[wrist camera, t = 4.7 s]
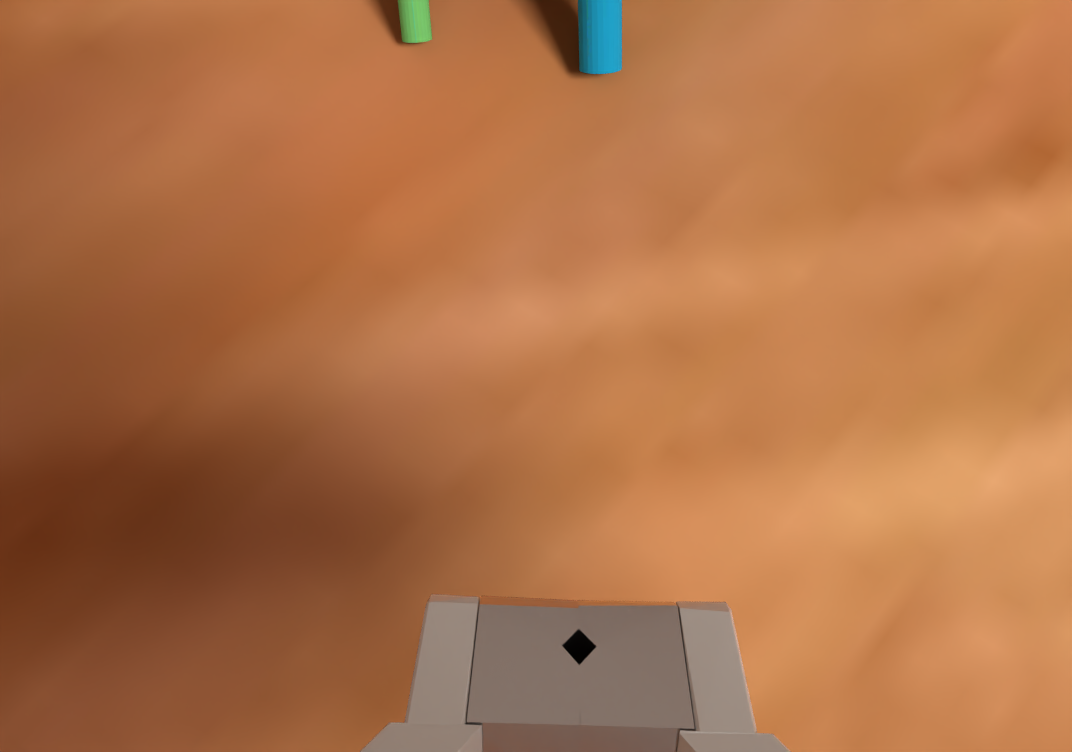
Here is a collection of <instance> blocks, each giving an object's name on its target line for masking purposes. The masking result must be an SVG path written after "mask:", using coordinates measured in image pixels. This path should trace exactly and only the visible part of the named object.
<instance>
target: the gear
mask: <svg viewBox="0 0 1072 752" xmlns="http://www.w3.org/2000/svg"><path fill="white" fill-rule="evenodd" d="M398 8H399V17H400V26H401V35H402V41H403V42H407V43H418V42H426V41H430V40H432V32H431V22H430V11H429V0H398ZM578 24H579V70H580V71H581V72H584V73H589V74H606V73H613V72H617V71H620V70H621V69H622V0H578Z"/></svg>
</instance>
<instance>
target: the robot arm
mask: <svg viewBox="0 0 1072 752" xmlns="http://www.w3.org/2000/svg"><path fill="white" fill-rule="evenodd" d="M360 752H791V751H790V750H789V749H788V748H787V747H786V746H785V745H784V744H783V743H782V742H781V741H780V740H779V739H778V738H777V737H776V736H775V735H774V734H765V733H757V729H756V724H755V720H754V715H753V710H752V706H751V701H750V696H749V691H748V687H747V682H746V677H745V673H744V668H743V663H742V659H741V654H740V649H739V644H738V640H737V635H736V630H735V626H734V621H733V616H732V611H731V609H730V607H729V606H728V605H727V603H726V602H676V604H675V603H674V602H646V601H593V600H578V601H577V600H557V599H537V598H518V597H498V596H481V597H475V596H457V595H439V594H431V596H430V598H429V600H428V602H427V604H426V607H425V613H424V618H423V624H422V629H421V635H420V640H419V646H418V651H417V657H416V662H415V668H414V673H413V679H412V684H411V690H410V695H409V701H408V706H407V712H406V717H405V723H388V724H387V725H386V726H385V727H384V728H383V729H382V730H381V731H380V732H379V733H378V734H377V735H376V736H375V737H374V738H373V739H372V740H371V741H370V742H369V743H368V744H367V745H366V746H365V747H364V748H363V749H362V750H361V751H360Z"/></svg>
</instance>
